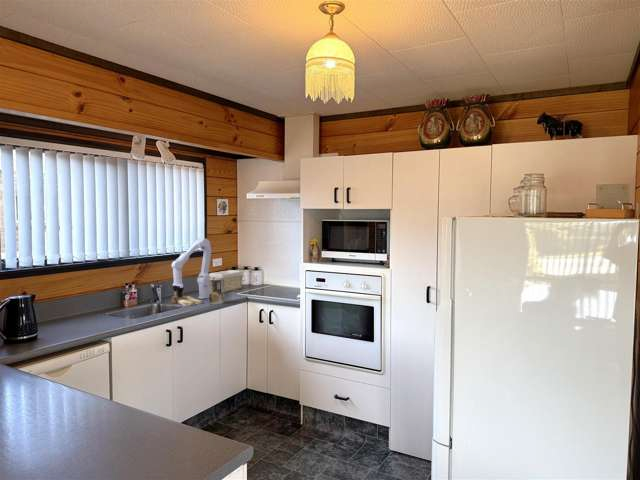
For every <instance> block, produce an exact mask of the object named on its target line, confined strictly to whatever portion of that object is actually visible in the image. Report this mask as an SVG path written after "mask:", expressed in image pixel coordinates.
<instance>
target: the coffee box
mask: <svg viewBox="0 0 640 480" xmlns="http://www.w3.org/2000/svg"><path fill="white" fill-rule="evenodd" d="M208 283H209V298H208V299H209V304H210V305H223V304H225V302H226V300H225V292H224V280H210V281H209V282H208Z"/></svg>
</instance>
